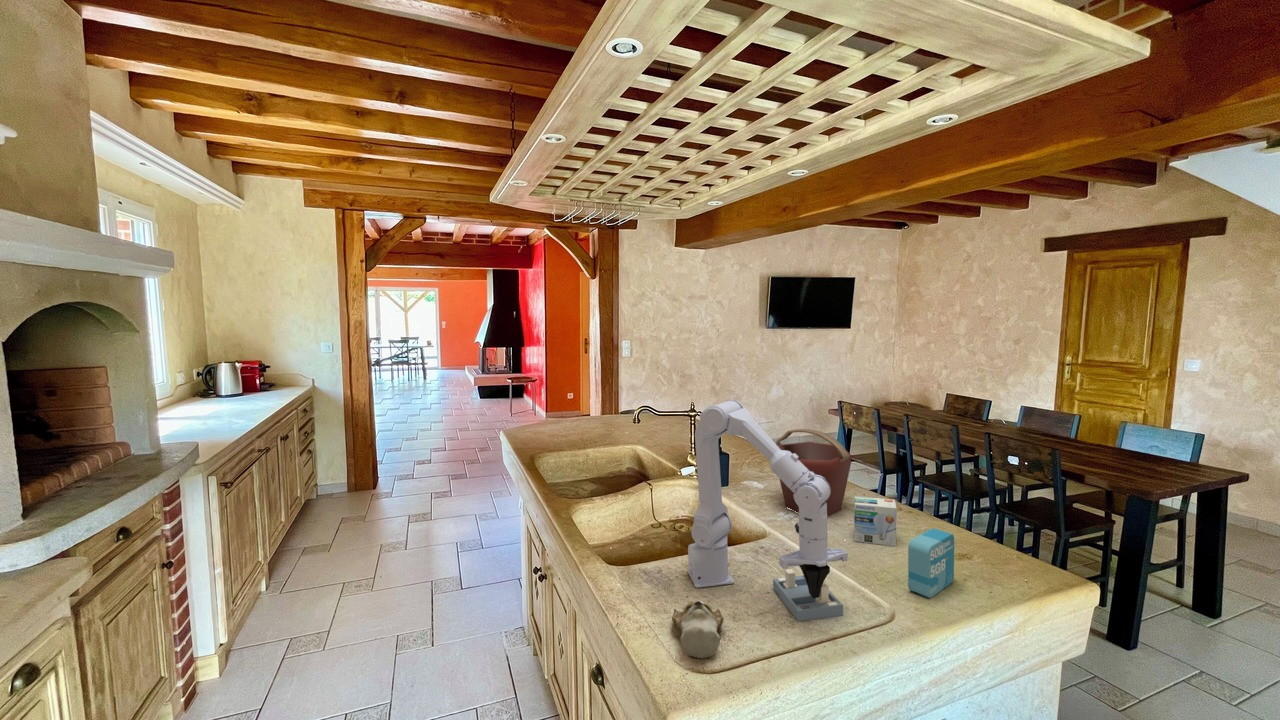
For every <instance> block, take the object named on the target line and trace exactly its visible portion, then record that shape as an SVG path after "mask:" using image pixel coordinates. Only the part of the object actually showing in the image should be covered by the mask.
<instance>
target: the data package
mask: <svg viewBox="0 0 1280 720" xmlns="http://www.w3.org/2000/svg"><path fill="white" fill-rule="evenodd" d="M907 548H908V549H907V551H908V552H907V553H908V554H907V555H908V556H907V560H908V561H907V567H908V568H907V569H908V570H907V571H908V572H907V574H908V575H907V578H908V579H907V583H908V585H907V586H908V589H909V590H910V591H912V592H915V593H916V594H920V595H921V596H924V597H926V598H929V599H932V598H933V597H934V596H935V595H938V593H940V592H941V591H943V590H944V589H946V588H947V587H949V586H950V585H951V584H952V583H953V581H954V578H955V536H954V534H953V533H950V532H946V531H943V530H940V529H937V528H934V527H931V528H930V529H928V530H926V531H924V532H922V533H920V534H919V535H917V536H915V537H914V538H912V539H911V540H909V542H908V547H907Z"/></svg>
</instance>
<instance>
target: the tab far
mask: <svg viewBox="0 0 1280 720" xmlns="http://www.w3.org/2000/svg"><path fill="white" fill-rule="evenodd" d="M795 576H796V572H795V571H794V570H793V569H792V568H787V569H784V578H785V583H783V589H787V588H795V587H798V586H797V585H796V584H795Z"/></svg>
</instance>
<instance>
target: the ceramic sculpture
mask: <svg viewBox="0 0 1280 720" xmlns="http://www.w3.org/2000/svg"><path fill="white" fill-rule="evenodd" d="M724 619H725V618H724V616H722V613H721V610H720V609H719V608H718V609H716V610H715V611H714V610H713V608H712V606H711V605H710V604H709V603H707V602H706V601H699V600H698V601H697V600H695V601H690V602H688V603H687V604H685V606H684V607H683V610H682V611H679V610H677V609H676V608H674V610H673V615H672V616H671V620H672V623H673V625H674V626H675V627H676V628H677V629H679V630H680V631H681V636H680V638H679V639H680V644H681V646H682V648H683V651H684V652H685V653H686V654H687V655H688V656H689V657H692V658H696V657H697V659H699V658H703V659H706V658H707V657H708V658H709V657H712V656H714V654H715V653H717V650H718V649H719V646H720V643H721V637H720V635H719V633H718V629H719V628H720V627H721V626H722V624H723V622H724Z"/></svg>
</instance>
